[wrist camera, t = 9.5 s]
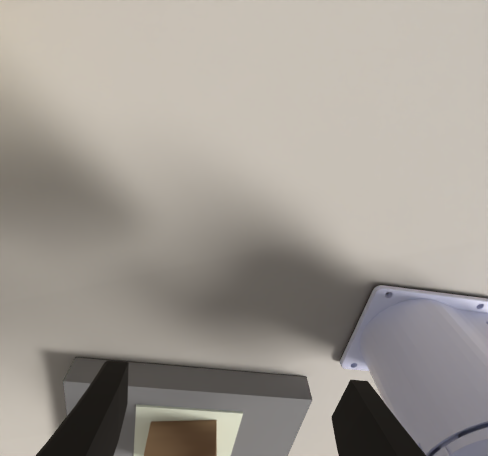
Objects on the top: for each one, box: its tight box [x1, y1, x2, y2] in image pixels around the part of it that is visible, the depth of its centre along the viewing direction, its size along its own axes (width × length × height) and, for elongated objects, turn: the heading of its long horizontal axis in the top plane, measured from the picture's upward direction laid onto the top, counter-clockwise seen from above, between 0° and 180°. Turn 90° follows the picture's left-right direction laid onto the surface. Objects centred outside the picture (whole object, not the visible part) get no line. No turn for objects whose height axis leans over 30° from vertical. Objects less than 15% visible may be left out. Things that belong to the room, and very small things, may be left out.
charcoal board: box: [63, 357, 312, 456], centre depth 27 cm, size 18×12×2 cm, turn 79°
